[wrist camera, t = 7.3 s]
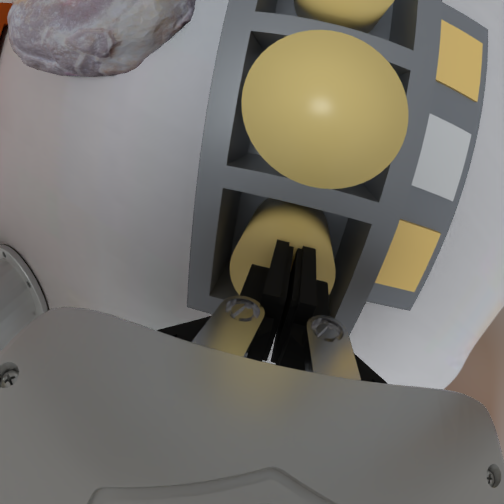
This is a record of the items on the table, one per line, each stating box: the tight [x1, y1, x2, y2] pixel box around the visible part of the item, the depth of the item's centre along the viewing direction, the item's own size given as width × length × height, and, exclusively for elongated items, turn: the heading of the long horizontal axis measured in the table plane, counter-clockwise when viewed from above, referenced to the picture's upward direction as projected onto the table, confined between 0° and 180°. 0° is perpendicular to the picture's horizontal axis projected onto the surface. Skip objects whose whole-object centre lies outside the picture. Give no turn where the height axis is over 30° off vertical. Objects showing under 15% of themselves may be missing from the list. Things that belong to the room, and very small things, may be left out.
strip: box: [367, 3, 488, 311], centre depth 14 cm, size 22×5×1 cm, turn 170°
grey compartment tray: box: [187, 0, 442, 335], centre depth 12 cm, size 22×9×6 cm, turn 170°
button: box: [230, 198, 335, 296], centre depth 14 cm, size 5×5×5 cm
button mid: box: [241, 30, 408, 189], centre depth 9 cm, size 5×5×5 cm
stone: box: [7, 0, 195, 76], centre depth 11 cm, size 17×10×10 cm
